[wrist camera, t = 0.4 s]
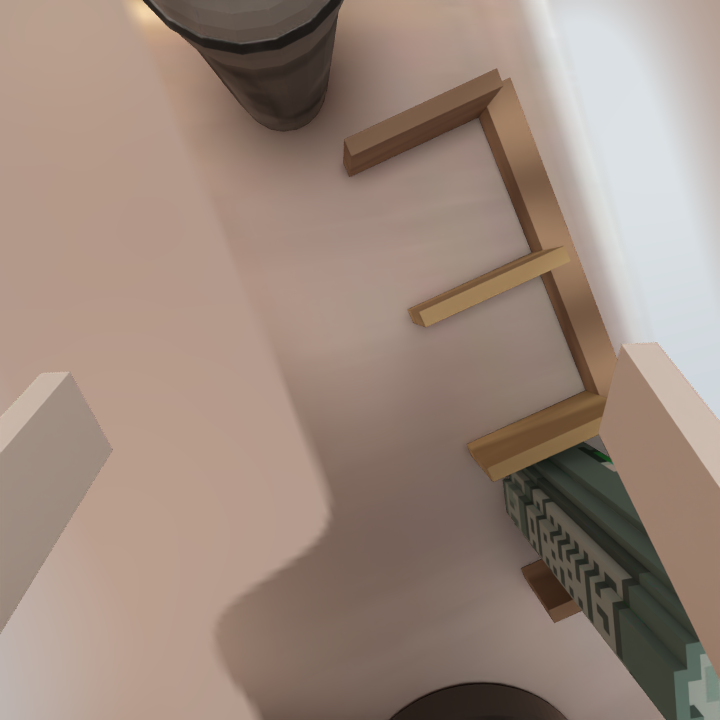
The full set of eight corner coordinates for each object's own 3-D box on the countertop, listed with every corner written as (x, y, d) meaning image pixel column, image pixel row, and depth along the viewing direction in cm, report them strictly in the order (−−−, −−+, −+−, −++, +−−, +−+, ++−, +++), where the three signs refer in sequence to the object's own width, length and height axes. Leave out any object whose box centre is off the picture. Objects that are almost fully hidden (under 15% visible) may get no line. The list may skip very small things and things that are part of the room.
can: (609, 527, 30) (876, 757, 15) (510, 543, 30) (681, 792, 15) (600, 430, 29) (875, 573, 14) (499, 446, 29) (669, 608, 14)
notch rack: (664, 517, 30) (714, 551, 26) (525, 579, 30) (554, 623, 26) (500, 89, 26) (529, 53, 22) (343, 162, 26) (344, 139, 22)
